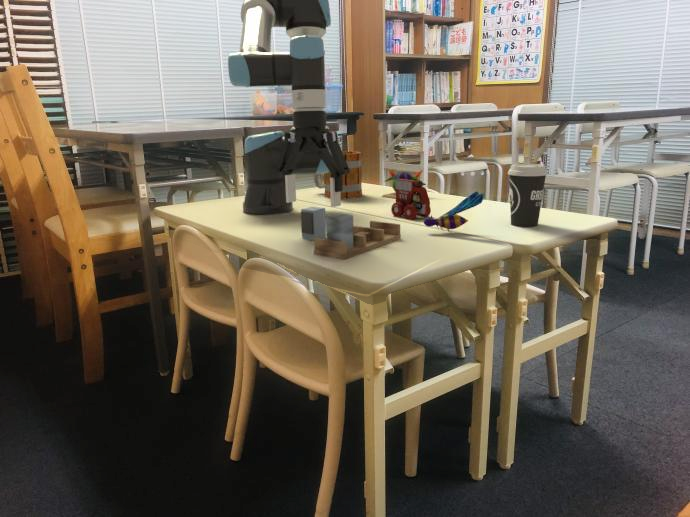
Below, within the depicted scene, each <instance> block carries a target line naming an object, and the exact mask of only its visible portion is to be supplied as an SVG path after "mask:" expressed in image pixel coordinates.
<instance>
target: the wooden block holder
mask: <svg viewBox="0 0 690 517" xmlns="http://www.w3.org/2000/svg"><path fill="white" fill-rule="evenodd" d="M325 225H326V238H314V240H313V244H314V245H313V247H314V248H313V255H317V256H321V257H328V258H333V259H337V260H338V259H340V260H347V259H349V258H352V257H355V256H357V255H360V254H363V253H365V252H367V251H368V252H369V251H371V250H373V249H376V248H379V247H381V246H385V245H387V244H389V243H393V242H394V241H397V240H400V239H401V238H402V236H401V223H393V222H385V221H384V222H383V221H376V220H370V221H369V227H368V226H358V225H354V215H353V214H347V213H340V212H339V213H338V212H337V213H334V214H330V215H325Z"/></svg>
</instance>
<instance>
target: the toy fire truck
mask: <svg viewBox="0 0 690 517" xmlns="http://www.w3.org/2000/svg"><path fill="white" fill-rule="evenodd" d="M423 183H424V182H423V181H422V180H420V179H418V181H417V182H416V181H413V180H406V179H397V180H396V181H395V188H396V199H395V202H394V203H392V205H391V209H390V211H391V214H392V215H393V217H397V218H400V217H403V215H404V218H406V220H415V219H417V216H420V217H422V218H426V217H428V216H431V212H432V210H431V202H430V198H429V195H428V192H427V189H426V187H424V185H423Z"/></svg>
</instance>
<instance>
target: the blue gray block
mask: <svg viewBox="0 0 690 517" xmlns="http://www.w3.org/2000/svg"><path fill="white" fill-rule="evenodd" d="M300 224H301V226H300V227H301V235H302V240H303V239H304V240H305V239H306V240H311V241H314V238H322V239H325V238H327V230H326V207H318V206H317V207H316V206H310V207H305V208H301V209H300Z"/></svg>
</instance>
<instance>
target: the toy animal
mask: <svg viewBox="0 0 690 517" xmlns="http://www.w3.org/2000/svg"><path fill="white" fill-rule="evenodd" d="M387 170H388V172H389V174H390V177H389V178H387V179H386V180H384V181H383V182H385V183H386V182H390V181H392V183H391V185H392V186H391V188H392V189H393V191H394V192H391V193H386V194H383V195H381V198H387V199H394V200H396V188H395V181H396V180H397V179H406V180H413V181H416V182H417V181H418V180H419V179H418V178H419V177H420V176H421V174H422V173H423V170H424V169H423V168H422V169H421V170H420V171H418V172H417V173H416V174H414V175H412V174H411V173H409V172H407V171H403V170H401V171H400V172H398V173H396V174H395V173H394V172H393V170H391V169H389V168H388V169H387ZM426 185H427V184H426V183H424V182H423V186H426Z"/></svg>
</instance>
